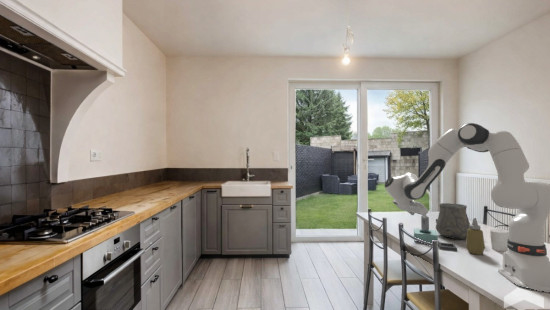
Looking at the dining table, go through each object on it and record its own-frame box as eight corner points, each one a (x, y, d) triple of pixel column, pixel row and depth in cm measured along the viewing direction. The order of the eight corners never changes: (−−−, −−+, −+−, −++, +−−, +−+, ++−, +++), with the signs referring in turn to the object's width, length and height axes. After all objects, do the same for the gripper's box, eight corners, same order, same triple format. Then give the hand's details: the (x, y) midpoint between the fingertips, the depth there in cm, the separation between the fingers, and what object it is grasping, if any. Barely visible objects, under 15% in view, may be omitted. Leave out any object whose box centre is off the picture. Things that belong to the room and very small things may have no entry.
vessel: (427, 236, 175) (427, 204, 175) (439, 230, 190) (439, 201, 190) (468, 244, 159) (468, 209, 159) (478, 237, 174) (477, 204, 174)
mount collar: (457, 251, 148) (457, 248, 148) (439, 249, 151) (439, 246, 151) (454, 246, 155) (454, 243, 155) (438, 244, 159) (438, 242, 159)
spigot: (429, 241, 165) (429, 217, 165) (421, 240, 167) (421, 217, 167) (428, 239, 168) (428, 216, 169) (421, 239, 170) (421, 215, 170)
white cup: (512, 252, 145) (512, 233, 145) (495, 251, 147) (495, 232, 147) (503, 247, 153) (503, 229, 153) (487, 246, 155) (487, 228, 155)
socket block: (437, 244, 159) (437, 235, 160) (414, 241, 165) (414, 233, 165) (435, 238, 170) (435, 230, 170) (413, 236, 175) (413, 228, 176)
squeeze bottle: (468, 254, 142) (468, 219, 142) (463, 249, 150) (463, 216, 150) (487, 256, 139) (487, 220, 140) (481, 251, 147) (481, 217, 147)
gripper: (421, 198, 154) (436, 215, 157) (396, 194, 174) (409, 209, 177) (415, 207, 153) (430, 223, 156) (390, 201, 173) (404, 216, 175)
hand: (419, 215), depth 166 cm, fingers open, 8 cm apart
